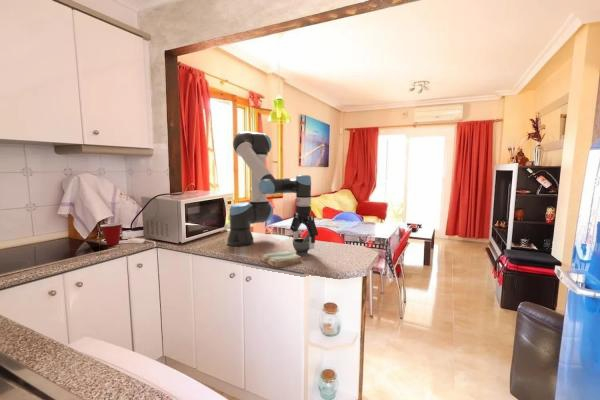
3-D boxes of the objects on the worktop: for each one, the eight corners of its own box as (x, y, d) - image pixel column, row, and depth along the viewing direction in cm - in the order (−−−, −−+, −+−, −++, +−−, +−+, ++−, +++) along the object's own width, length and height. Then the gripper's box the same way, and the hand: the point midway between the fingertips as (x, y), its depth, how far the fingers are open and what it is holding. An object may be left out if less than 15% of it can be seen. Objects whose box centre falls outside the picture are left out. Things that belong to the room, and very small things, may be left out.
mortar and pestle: (297, 257, 145) (297, 233, 144) (289, 252, 154) (289, 230, 152) (317, 254, 150) (317, 231, 149) (308, 249, 158) (308, 228, 157)
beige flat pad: (260, 259, 141) (260, 254, 141) (284, 254, 150) (284, 249, 149) (276, 267, 130) (276, 261, 130) (301, 261, 139) (301, 256, 138)
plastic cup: (117, 241, 174) (115, 221, 173) (127, 243, 169) (126, 222, 168) (97, 245, 165) (95, 224, 163) (108, 247, 160) (106, 226, 158)
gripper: (283, 203, 157) (283, 242, 159) (313, 208, 137) (313, 252, 139) (295, 202, 161) (295, 240, 163) (325, 207, 141) (325, 250, 144)
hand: (303, 246), depth 151 cm, fingers open, 13 cm apart
